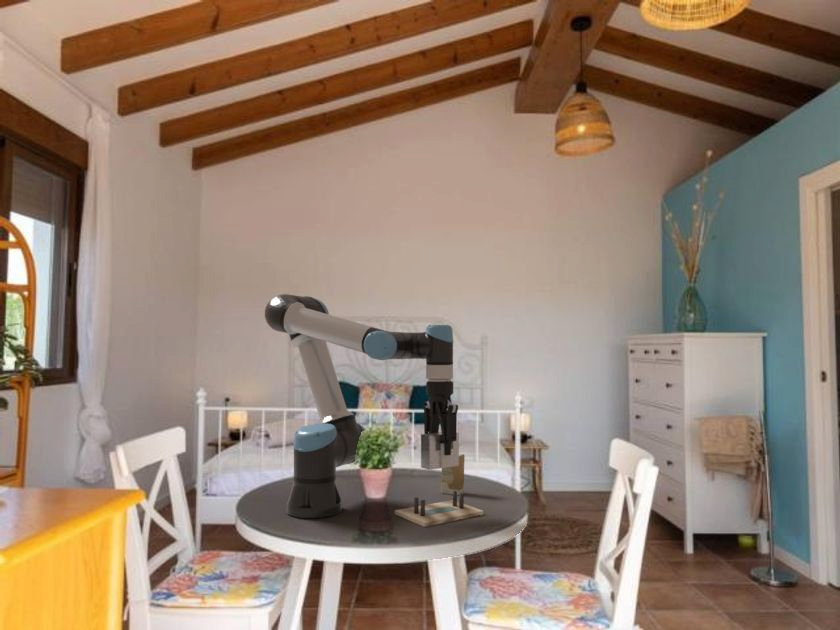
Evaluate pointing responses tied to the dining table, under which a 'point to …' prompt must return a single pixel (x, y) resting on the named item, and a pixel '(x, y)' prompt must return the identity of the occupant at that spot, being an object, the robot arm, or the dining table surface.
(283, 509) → the dining table surface
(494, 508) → the dining table surface
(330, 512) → the robot arm
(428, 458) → the drive
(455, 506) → the pin tray
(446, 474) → the skincare box
